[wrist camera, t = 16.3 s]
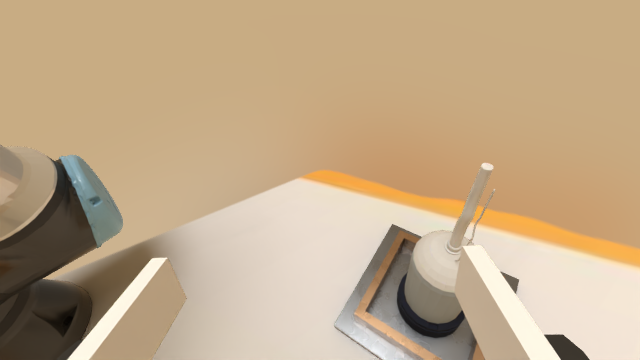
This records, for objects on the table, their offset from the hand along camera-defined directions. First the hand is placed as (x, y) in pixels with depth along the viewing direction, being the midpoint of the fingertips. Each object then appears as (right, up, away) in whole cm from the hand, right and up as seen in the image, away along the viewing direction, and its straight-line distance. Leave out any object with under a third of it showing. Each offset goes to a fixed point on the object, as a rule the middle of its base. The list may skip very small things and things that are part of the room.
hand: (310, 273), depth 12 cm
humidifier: (+15, -12, +24) cm, 30 cm away
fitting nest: (+15, -13, +24) cm, 31 cm away
